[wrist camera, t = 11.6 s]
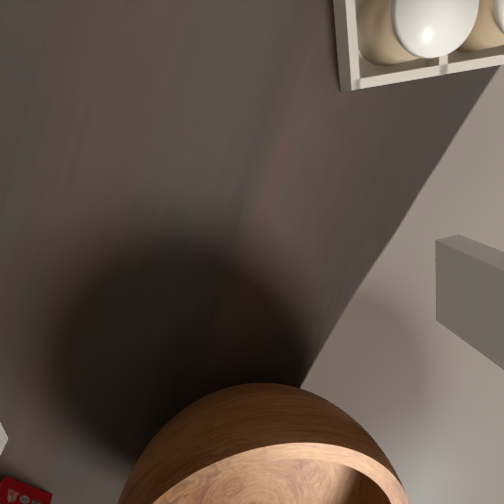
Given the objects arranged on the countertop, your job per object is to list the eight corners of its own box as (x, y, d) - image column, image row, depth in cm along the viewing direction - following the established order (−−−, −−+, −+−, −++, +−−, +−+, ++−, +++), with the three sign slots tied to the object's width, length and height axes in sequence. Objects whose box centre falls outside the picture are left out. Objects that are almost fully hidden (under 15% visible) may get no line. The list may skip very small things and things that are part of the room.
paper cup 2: (438, 59, 37) (499, 46, 30) (438, -22, 35) (503, -55, 28) (500, 49, 38) (572, 34, 31) (503, -31, 36) (582, -65, 29)
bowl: (129, 329, 39) (109, 446, 25) (361, 336, 45) (450, 433, 31) (117, 524, 46) (96, 700, 32) (319, 508, 52) (376, 651, 38)
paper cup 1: (354, 73, 36) (398, 63, 29) (349, -10, 34) (395, -42, 27) (420, 62, 37) (477, 50, 30) (419, -19, 34) (480, -52, 28)
